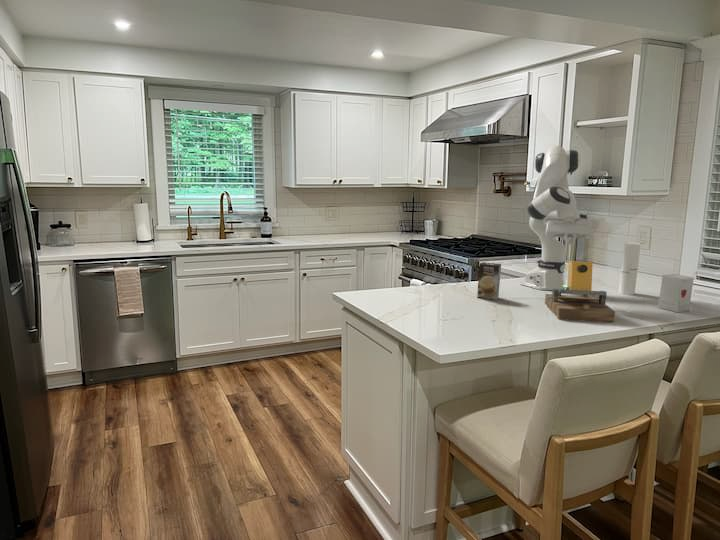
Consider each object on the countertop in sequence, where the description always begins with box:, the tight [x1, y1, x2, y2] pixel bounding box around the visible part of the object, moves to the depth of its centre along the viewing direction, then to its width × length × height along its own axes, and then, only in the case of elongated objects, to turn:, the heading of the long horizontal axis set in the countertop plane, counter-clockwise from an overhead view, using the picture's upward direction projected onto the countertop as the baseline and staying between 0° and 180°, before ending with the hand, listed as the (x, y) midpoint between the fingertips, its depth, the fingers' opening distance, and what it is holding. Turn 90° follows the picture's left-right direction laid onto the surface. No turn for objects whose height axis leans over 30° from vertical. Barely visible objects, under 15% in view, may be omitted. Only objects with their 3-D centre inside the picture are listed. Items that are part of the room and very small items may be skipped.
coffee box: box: [476, 261, 502, 300], centre depth 246 cm, size 9×6×16 cm
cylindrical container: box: [618, 242, 642, 296], centre depth 263 cm, size 7×7×25 cm
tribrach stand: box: [544, 289, 616, 323], centre depth 223 cm, size 26×21×10 cm
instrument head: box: [558, 260, 608, 296], centre depth 223 cm, size 18×16×14 cm
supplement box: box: [657, 273, 695, 313], centre depth 233 cm, size 9×9×15 cm
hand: (570, 243), depth 235 cm, fingers closed
